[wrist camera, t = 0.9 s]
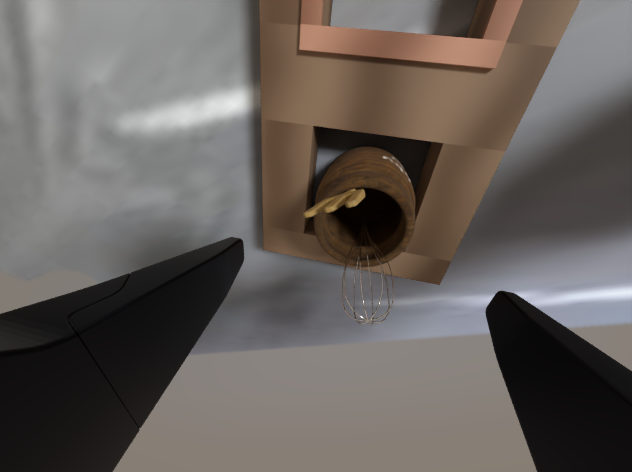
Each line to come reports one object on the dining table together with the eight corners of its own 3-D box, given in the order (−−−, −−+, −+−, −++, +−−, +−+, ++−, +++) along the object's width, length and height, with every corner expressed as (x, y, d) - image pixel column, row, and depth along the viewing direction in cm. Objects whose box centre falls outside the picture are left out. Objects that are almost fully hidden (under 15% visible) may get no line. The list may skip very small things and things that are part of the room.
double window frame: (691, -317, 8) (836, -504, 5) (431, 265, 20) (440, 287, 18) (279, -288, 9) (248, -422, 7) (273, 235, 22) (262, 251, 19)
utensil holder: (338, 227, 20) (306, 361, 10) (313, 154, 17) (235, 230, 7) (411, 212, 18) (468, 357, 8) (396, 126, 15) (452, 177, 5)
